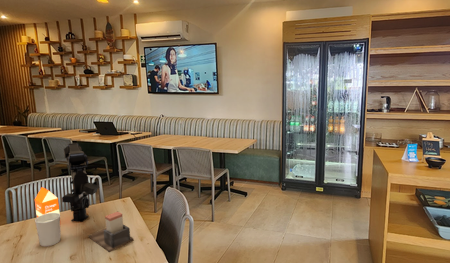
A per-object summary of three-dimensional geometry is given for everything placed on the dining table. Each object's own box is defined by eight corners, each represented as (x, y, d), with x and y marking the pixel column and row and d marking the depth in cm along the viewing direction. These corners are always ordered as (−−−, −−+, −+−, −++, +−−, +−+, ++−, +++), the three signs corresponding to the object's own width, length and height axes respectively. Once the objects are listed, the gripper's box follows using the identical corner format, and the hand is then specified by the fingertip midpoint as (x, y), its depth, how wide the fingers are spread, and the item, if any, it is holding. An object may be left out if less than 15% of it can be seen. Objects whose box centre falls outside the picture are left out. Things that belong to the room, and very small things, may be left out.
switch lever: (107, 240, 129) (105, 216, 127) (119, 235, 133) (117, 211, 131) (111, 243, 126) (109, 218, 124) (123, 238, 131) (122, 213, 129)
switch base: (88, 237, 134) (87, 223, 133) (112, 227, 143) (111, 214, 142) (109, 252, 122) (108, 237, 121) (133, 240, 131) (132, 226, 130)
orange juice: (44, 230, 140) (40, 192, 137) (37, 225, 146) (33, 188, 142) (61, 224, 146) (57, 188, 143) (53, 219, 152) (49, 184, 148)
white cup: (34, 249, 125) (31, 224, 123) (42, 237, 134) (39, 214, 132) (59, 245, 127) (56, 221, 125) (65, 234, 137) (62, 211, 135)
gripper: (82, 185, 125) (85, 218, 127) (105, 172, 143) (107, 201, 146) (59, 184, 126) (63, 217, 129) (84, 172, 144) (87, 200, 147)
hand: (81, 208), depth 137 cm, fingers closed
